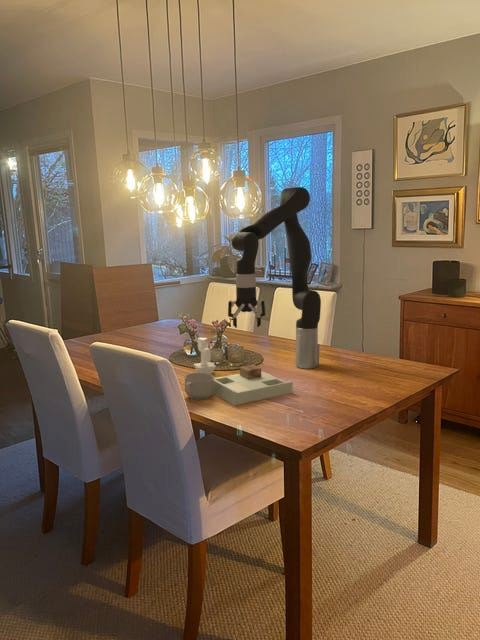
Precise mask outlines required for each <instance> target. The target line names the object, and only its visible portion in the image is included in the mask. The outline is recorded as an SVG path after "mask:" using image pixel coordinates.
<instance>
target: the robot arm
mask: <svg viewBox="0 0 480 640" xmlns="http://www.w3.org/2000/svg"><path fill="white" fill-rule="evenodd" d="M310 201H311V196H310V192H309V191H308V189H307V188H305V187H302V186H296V187H288V188H287V187H286V188H283V189H282V190H281V192H280V194H279V206H277V207H275V208H272V209H271V210H269V211H267V212H266V213H264V214H262V215H261V216H260V217H258V218H257V219H256V220H255V221H254V222H253V223H251V224H249V225H247V226H245V227H243V228H242V229H240V230H238V231H237V232H235V234H234V235H233V236H232V238H231V246H232V247H233V249H234V250H235V251H237V252H238V251H239V252H243V253H242V256H241V257H239V258H237V260H236V263H235V265H236V267H235V270H236V277H235V287H236V288H235V290H236V292H235V294H236V299H235V300H229V301H228V304H227V305H228V307H227V316H228V317H229V318H232V326H233V327H234V328H235V329H237V327H238V319H237V318H238V315H239V314H240V313H241V312H242V313H247V312H248V313H251V312H253V314H255V316H256V328H259V327H260V326H261V324H262V320H261V318H262V317H265V316H266V306H265V300H264V299H261V300H258V299H257V277H256V266H255V265H256V264H255V263H256V259H257V254H258V250H259V243H260V242H259V240H263V239H264V238H265V237H267V236H268V235H269V234H271V232H273V230H275V229H276V228H277V227H278V226H280V225H281V224H282V223H283V224H284V229H285V235H286V243H287V252H288V259H289V265H290V273H291V275H290V276H291V291H292V292H291V293H292V294H291V295H292V297H291V298H292V303H293V305H294V307H295V308H296V309H297V310H300V311H301V316H300V317H301V318H298V319H297V320H296V321H295V367H297V368H299V369H309V370H310V369H315V368H317V367H320V344H319V336H318V335H319V322H320V319H321V311H322V309H321V308H322V305H321V304H322V301H321V296H320V294H319V292H318V291H316V290H313V289H309V284H308V271H309V268H310V265H311V262H312V248H311V242H310V240H309V237H308V235H307V233H306V232H305V231H304V229H303V228H302V226H301V224H300V222H299V217H298V213H300V212H302V211H304V210H305V209H306V208H307V207H308V206H309V204H310ZM257 305H259V307H261V312H260V311H259V310H258V309H257V307H256V306H257ZM234 306H236V307H237V309H236V310H235V312H234V313H232V309H233V307H234Z"/></svg>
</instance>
